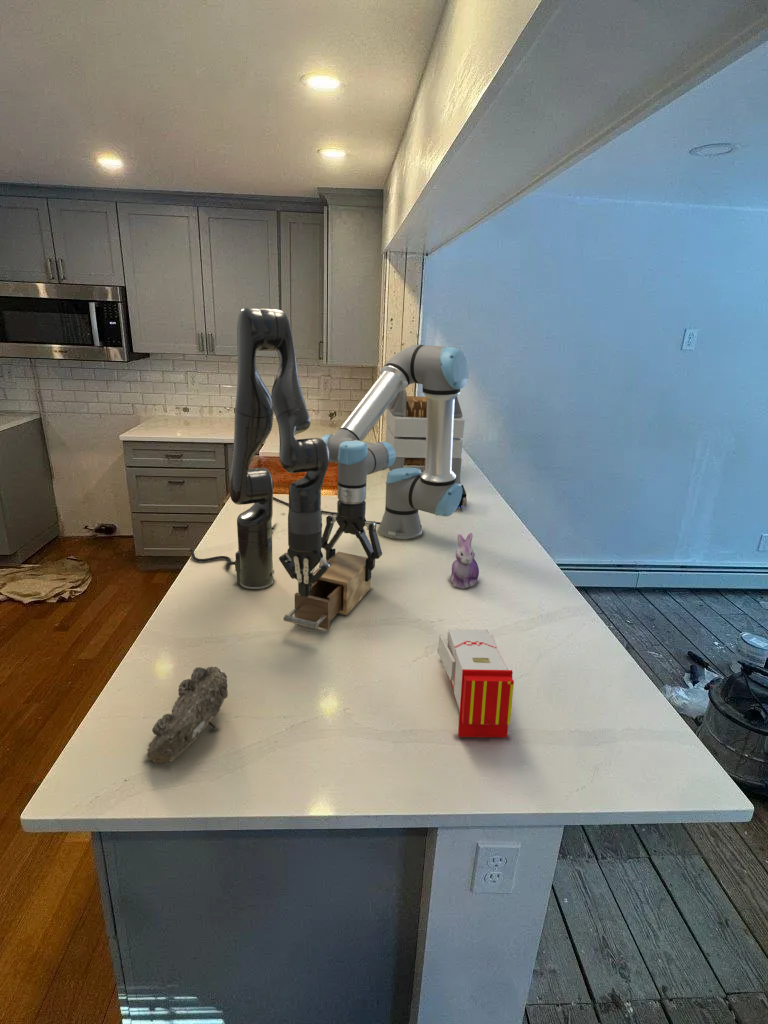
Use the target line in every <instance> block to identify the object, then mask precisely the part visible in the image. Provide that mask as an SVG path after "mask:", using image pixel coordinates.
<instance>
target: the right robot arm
mask: <svg viewBox="0 0 768 1024" xmlns="http://www.w3.org/2000/svg"><path fill="white" fill-rule="evenodd" d="M465 354H466V353H465V352H464V351H463V350H461V349H459V348H457V347H450V346H443V345H424V344H413V345H410V346H408V347H405V348H403V349H401V350H400V351H398V352H397V353H395V354H394V355H393V356H391V358H389V360H388V361H387V362H385V364H384V365H383V366H382V368H381V369H380V371H379V375H380V376H379V377H378V378H377V379H376V380H375V382H374V384H373V385H372V386H371V387H370V388H369V389H368V391H367V392H366V394H365V395H364V396H363V397H362V399H361V400H360V401H359V403H358V404H357V405H356V406H355V408H354V409H353V410H352V411H351V412H350V414H349V415H348V416H347V418H346V419H345V420H344V422H343V424H341V426H340V427H339V428H338V430H337V431H336V432H335V433H334V434H333V433H330V434H329V433H328V434H325V435H322V437H321V438H320V439H322V440H323V441H325V443H326V444H327V446H328V449H329V462H331V463H336V464H337V503H336V505H337V507H336V508H337V509H336V511H337V512H335V511H327V510H321V514H322V513H323V514H329V515H327V516H326V517H325V522H326V523H325V527H324V530H323V532H322V546H321V549H324V550H325V561H328V560H329V559H330V558H331V557H332V556H333V555H335V554H336V548H334V546H335V545H336V543H337V542H338V541H339V539H340V538H341V536H342V535H343V533H344V534H349V535H353V536H355V537H356V538H357V539H358V541H359V542H360V545H361V547H362V549H363V550H364V552H365V555H366V557H368V558H367V559H366V569H365V581H366V582H368V581H369V580H370V579H371V580H372V571H373V570H374V569H375V567H376V560H378V559H380V558H381V557H382V555H383V551H382V547H381V543H380V540H379V539H380V538H379V536H378V533H379V534H380V535H381V536H382V537H385V538H387V539H389V540H395V541H410V540H415V539H418V538H420V537H421V536H422V535H423V525H422V524H421V518H420V515H419V511H421V512H424V513H428V514H431V515H435V516H440V517H450V516H452V515H453V514H454V513H455V512H456V511H457V509H458V508H457V507H458V505H459V503H460V501H461V497H462V487H461V485H462V484H460V483H456V475H455V473H454V472H453V471H452V451H453V429H454V407H455V397H456V396H457V397H458V396H459V395H460V394H461V389H463V388H464V387H465V386H466V385H467V383H468V379H469V375H470V365H469V360H468V358H467V356H466V355H465ZM412 384H419V385H422V386H421V387H422V388H421V389H422V391H421V393H422V394H423V395H424V397H427V421H426V460H425V466H424V467H425V468H424V470H423V471H422V470H421V469H420V468H418V467H404V468H398V469H394V470H391V471H390V470H388V472H387V475H386V480H385V504H384V505H385V507H384V508H385V509H384V513H383V515H382V519H381V522H378V521H375V520H374V521H372V520H367V519H366V507H367V505H366V504H367V503H366V502H367V501H365V500H367V477H368V476H369V475H372V474H374V473H377V472H382V471H384V470H386V469H388V468H390V466H392V465H393V464H394V462H395V458H396V453H395V450H394V448H393V446H392V445H391V444H389V443H387V442H386V441H377V442H375V443H374V442H369V441H364V440H365V439H366V437H367V435H368V434H369V433H370V432H371V430H372V429H373V427H374V426H375V425H376V424H377V422H378V421H379V420H380V419H381V418H382V416H383V414H385V411H387V408H388V406H389V405H390V404H391V402H392V401H393V400H394V398H395V397H396V396H397V394H398V393H399V392H400V391H403V390H406V389H407V388H408V387H409V385H412ZM273 500H275V501H277V502H279V503H281V504H284V505H286V506H289V502H287V501H284V500H281V499H279V498H276V497H274V496H273ZM335 523H337V525H338V526H339V527H338V528H337V530H336V532H335V533H334V535H332V538H331V539H330V536H331V533H332V531H333V527H334V524H335ZM377 525H379V527H378V533H377ZM364 527H366V530H367V531H368V536H367V534H366V533H367V532H366V530H365V528H364ZM368 537H369V538H368ZM329 540H330V541H329Z"/></svg>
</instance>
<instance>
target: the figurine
mask: <svg viewBox="0 0 768 1024" xmlns="http://www.w3.org/2000/svg"><path fill="white" fill-rule="evenodd" d="M473 538H474V537H473V533H472V532H470V533H468V534H467V537H466V538H465V539H464V537H463V536H462V534H461V533H458V534H457V549H456V551H455V558H456V560H454V561H453V562H452V565H451V574H450V582H451V583H452V585H453V586H454V587H455V588H460V589H467V588H471V587H474V586H475V585H476V584H477V583H478V579H479V577H480V569H479V564H478V562H477V560H476V558H475V557H476V553H475V551H474V548H473V546H472V542H473Z"/></svg>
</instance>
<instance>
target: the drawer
mask: <svg viewBox="0 0 768 1024" xmlns="http://www.w3.org/2000/svg"><path fill="white" fill-rule="evenodd" d="M343 594H344V585H339V584H335V583H330V582H326V581H321V580H317V581H316V582H315V583H313V584H312V593H311V594H310V595H309V596H308V597H307V598H305V597H301V596H300V594H299V592H296V593H294V609H292V610H291V612H289V613H288V614H284V616H283V621H284V622H287V623H291V624H294V625H299V626H303V627H307V628H311V629H314V630H315V629H316V630H317V629H324V630H329V629H330V628H331V621H332V620H333V619H334V618H335V617H336V616H337V614H338V612H339V611H340V610H341V609H342V608H343ZM293 615H294V616H293Z"/></svg>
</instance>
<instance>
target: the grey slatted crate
mask: <svg viewBox="0 0 768 1024" xmlns="http://www.w3.org/2000/svg"><path fill="white" fill-rule="evenodd" d="M407 394H408V393H407V390H406V389H405V390H403V391H400V392H399V393H398V394H397V396H396V397H395V398H394V400H393V401H392V402H391V404H390V405H389V406H388V408H387V409H386V413H385V414H386V415H385V423H386V428H385V438H384V442H387V443H389V444H391V445H392V446H393V448H394V450H395V453H396V458H395V462H394V464H393V465H392V466H390V467H389V471H391V470H394V469H398V468H405V466H406V467H407V466H411V467H412V466H413V467H415V466H416V467H417V466H418V467H425V460H426V421H427V397H426V396H415V395H414V396H413V395H412V396H411V395H407ZM464 429H465V419H464V418H463V411H462V408H461V405H460V402H459V398H458V395H457V396H456V397H455V407H454V429H453V451H452V471H453V472H454V473H455V475H456V483H458V484H460V483H461V472H462V461H463V460H462V453H463V442H464V441H463V440H462V439H463V438H464V431H465V430H464Z"/></svg>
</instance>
